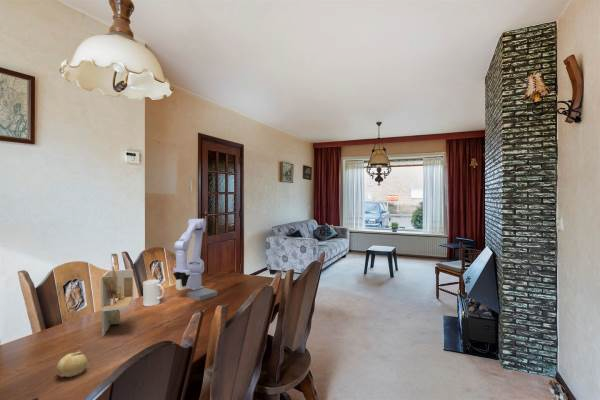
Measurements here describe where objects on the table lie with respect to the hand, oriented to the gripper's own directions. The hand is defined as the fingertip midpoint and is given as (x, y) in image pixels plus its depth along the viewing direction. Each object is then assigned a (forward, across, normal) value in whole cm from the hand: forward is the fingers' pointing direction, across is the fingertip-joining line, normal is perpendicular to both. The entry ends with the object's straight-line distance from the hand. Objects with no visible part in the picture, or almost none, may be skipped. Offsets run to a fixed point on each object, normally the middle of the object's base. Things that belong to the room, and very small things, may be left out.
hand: (181, 285), depth 176 cm
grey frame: (+7, +18, -40) cm, 45 cm away
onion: (+7, +44, -64) cm, 78 cm away
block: (+2, 0, 0) cm, 2 cm away
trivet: (+7, +7, +9) cm, 13 cm away
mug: (+7, -2, -15) cm, 17 cm away
